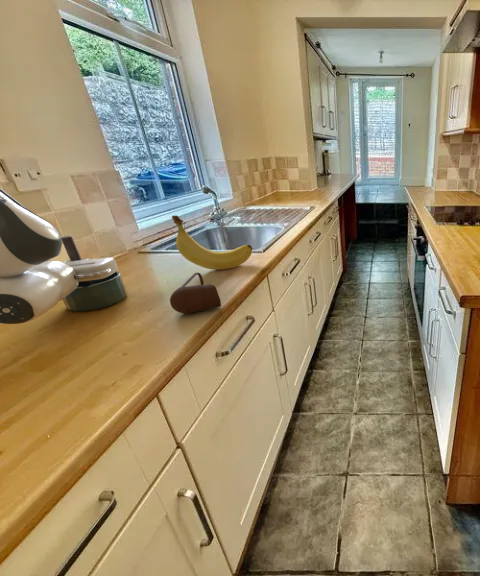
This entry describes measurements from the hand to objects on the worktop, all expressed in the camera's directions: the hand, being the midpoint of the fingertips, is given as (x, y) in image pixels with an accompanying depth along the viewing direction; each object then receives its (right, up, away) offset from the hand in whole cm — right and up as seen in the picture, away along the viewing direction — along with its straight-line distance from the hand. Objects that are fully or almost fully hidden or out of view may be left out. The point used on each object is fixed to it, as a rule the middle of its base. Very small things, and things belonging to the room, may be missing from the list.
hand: (78, 262), depth 86 cm
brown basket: (+31, -11, +3) cm, 33 cm away
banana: (+25, 0, +27) cm, 37 cm away
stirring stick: (0, -8, +3) cm, 9 cm away
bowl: (+2, -11, +4) cm, 12 cm away
